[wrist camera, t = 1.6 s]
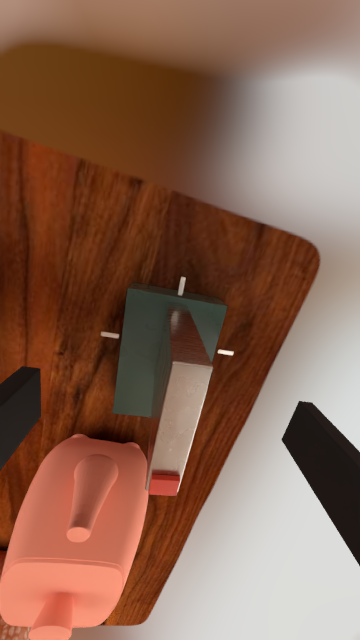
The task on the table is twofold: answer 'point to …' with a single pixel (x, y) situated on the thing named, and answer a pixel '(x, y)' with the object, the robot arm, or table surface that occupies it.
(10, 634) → the planter
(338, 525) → the robot arm
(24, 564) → the teapot
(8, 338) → the table surface
